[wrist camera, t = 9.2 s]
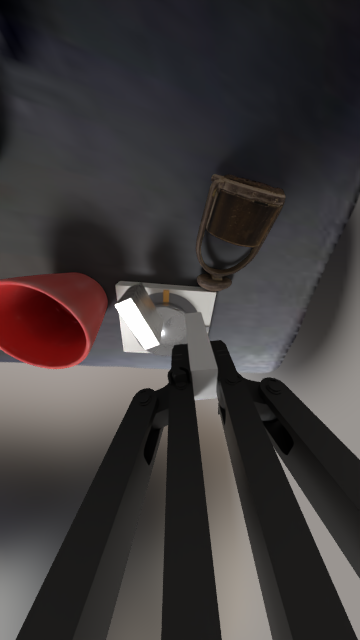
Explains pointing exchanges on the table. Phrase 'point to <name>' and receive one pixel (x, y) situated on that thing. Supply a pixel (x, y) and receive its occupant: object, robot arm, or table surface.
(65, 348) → the flower pot
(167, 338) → the dial
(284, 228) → the table surface
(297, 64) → the table surface
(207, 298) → the dial housing
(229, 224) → the brown piece
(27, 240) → the table surface
